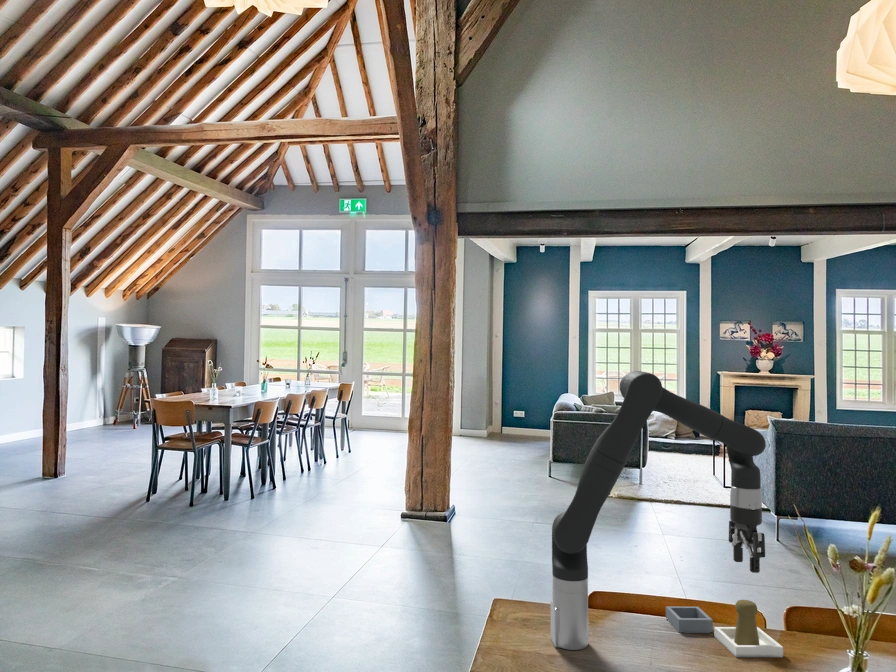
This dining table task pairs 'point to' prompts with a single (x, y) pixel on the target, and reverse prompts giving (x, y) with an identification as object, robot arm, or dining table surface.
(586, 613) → the robot arm
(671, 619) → the box
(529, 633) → the dining table surface
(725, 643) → the tray
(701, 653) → the dining table surface
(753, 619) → the cork
